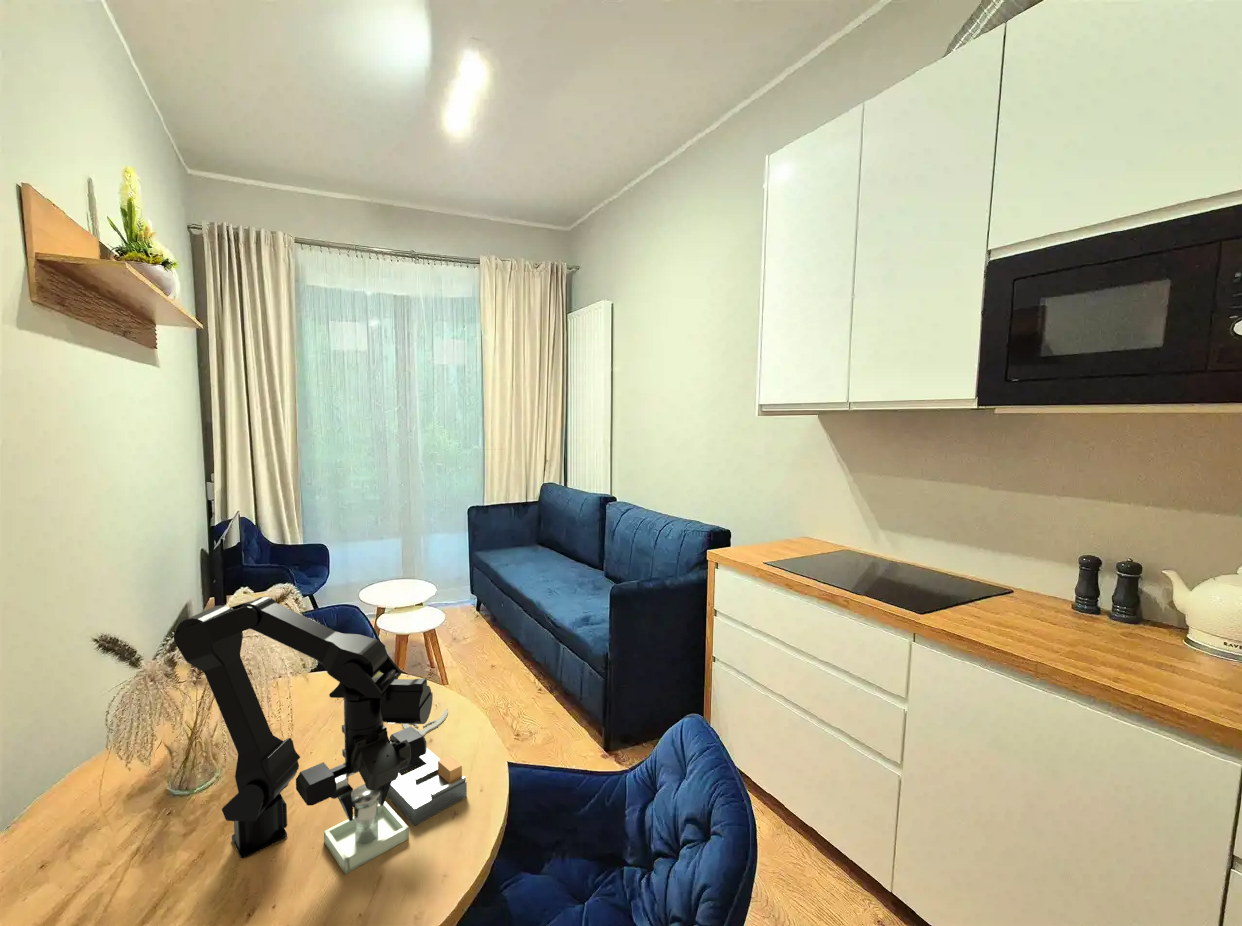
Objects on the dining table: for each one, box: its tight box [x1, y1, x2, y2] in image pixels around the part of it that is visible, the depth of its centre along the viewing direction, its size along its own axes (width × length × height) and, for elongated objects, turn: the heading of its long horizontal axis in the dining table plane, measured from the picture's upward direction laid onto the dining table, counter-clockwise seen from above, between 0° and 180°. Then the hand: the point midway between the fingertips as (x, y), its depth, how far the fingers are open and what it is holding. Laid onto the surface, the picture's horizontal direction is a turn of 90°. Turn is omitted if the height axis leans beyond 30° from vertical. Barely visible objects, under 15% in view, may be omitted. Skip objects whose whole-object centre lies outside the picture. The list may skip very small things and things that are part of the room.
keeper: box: [438, 754, 463, 783], centre depth 102 cm, size 2×4×2 cm, turn 47°
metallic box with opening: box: [386, 747, 468, 826], centre depth 103 cm, size 10×18×4 cm, turn 47°
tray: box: [323, 800, 410, 875], centre depth 90 cm, size 10×9×2 cm
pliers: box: [401, 708, 449, 737], centre depth 123 cm, size 10×2×15 cm
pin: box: [351, 783, 381, 844], centre depth 90 cm, size 5×5×8 cm
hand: (365, 811), depth 90 cm, fingers open, 5 cm apart
